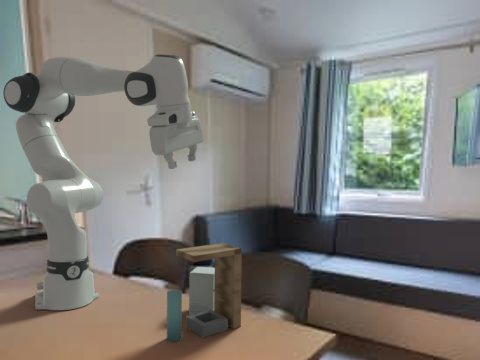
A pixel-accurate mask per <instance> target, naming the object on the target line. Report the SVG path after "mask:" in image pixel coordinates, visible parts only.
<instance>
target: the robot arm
mask: <svg viewBox="0 0 480 360" xmlns="http://www.w3.org/2000/svg"><path fill="white" fill-rule="evenodd" d="M188 90H189V82H188V76H187V71H186V67H185V64H184V61H183V59H182V58H181V57H180V56H178V55H175V54H162V53H161V54H155V55H153V56H152V58H151V59H150V61H149V62H148V63H147V64H146V65H144V66H143V67H141V68H139V69H137V70H134V71H130V70H125V69H119V68H115V67H114V66H113V67H112V66H109V65H105V64H101V63H98V62H96V61H91V60H88V59H85V58H80V57H79V58H78V57H71V56H56V57H51V58H48V59H46V60H44V62H43V63H42V65H41V67H40V71H39V73H38V74H34V73H33V72H31V71H30V72H26V73H24V74H22V75H19V76H15V77H12V78H10V79H9V80H8V81H7V83H5V85H4V88H3V93H2V94H3V98H4V102H5V103H6V106H7V107H8V108H10V109H11V110H14V111H16V112H19V113H23V114H22V115H20V116H19V117H18V118H17V120H16V122H15V128H16V133H17V137H18V139H19V143H20V145H21V148H22V150H23V152H24V154H25V156H26V158H27V160H28V162H29V164H30V167H31V169H32V170H33V172H34V173H35V174H36V175H37V176H39V177H41V178H43V179H45V180H44V181H41V182H38V183H35V184H33V185H32V186H30V187H29V189H28V191H27V194H26V204H27V208H28V210H29V211H30V212H31V213H32V214H33V215H35V216H36V217H37V218H39V219H40V221H41V223H42V224H43V226H44V229H45V232H46V235H47V236H46V237H47V246H48V248H47V249H48V259H47V261H46V273H45V274H44V276H43V278H42V281H39V282H36V287H37V288H36V289H37V290H38V291H37V292H35V294H34V295H35V296H34V298H35V299H34V309H35V310H49V311H67V310H75V309H78V308H83V307H84V306H88V305H89V304H91V303H92V302H93V301H94V300H96V299H97V298H99V297H100V294H99V293H98V292H96V291H95V286H94V285H95V283H94V282H95V281H94V273H93V272H92V271H91V270H90V269H89V267H90V266H89V262H90V260H89V256H88V235H87V232H86V230H85V229H84V228H82V227H80V226H79V225H78V222H77V220H76V215H75V214H79V213H87V212H89V211H91V210H94V209H95V208H98V207H99V206H100V205H101V204H102V201H103V197H104V191H103V188H102V186H101V185H100V183H98V182H97V181H95V180H93V179H92V178H90V177H89V176H87V175H86V174H85V172H83V171H82V170H81V169H80V168H79V167H78V166H77V165H76V164H75V162H74V161H73V160H72V158H70V156H69V154H68V152H67V151H66V149H65V147H64V145H63V143H62V140H61V139H60V137H59V135H58V134H57V131H56V130H55V129H56V128H55V126H54V123H60V122H62V121H63V120H64V118H66V117H68V116H69V115H70V114H71V113H72V112H73V111H74V108H75V106H76V105H75V104H76V96H78V97H90V96H92V97H93V96H100V95H103V94H104V95H105V94H111V93H116V92H117V93H118V92H119V93H120V92H124V94H125V96H126V98H127V100H128V101H129V102H130V103H131V104H132V105H134V106H137V107H138V106H139V107H146V106H154V105H155V106H156V105H157V108H158V110H156V111H155V112H154V114H151V116H149V117H148V118H147V119H146V120H147V125H148V127H150V129H149V132H148V133H149V140H150V141H149V142H150V148H151V151H152V153H153V154H154V155H155V156H163V158H164V160H165V161H166V162H167V165H168V166H167V167H168V169H169V170H174V169H176V168H177V167H178V165H177V164H178V163H177V161H175V160H174V158H173V157H174V154H173V153H174V152H177V151H180V150H183V149H186V148H187V149H188V150H189V151H188V155H187V161H188V162H194V161H196V160H197V158H196V157H197V156H196V153H197V149H198V146H197V145H198V144H201V143H203V142H204V139H205V137H204V136H205V135H204V132H203V131H204V130H203V127H202V123H201V119H199V115H197V114H196V112H195V111H192V103H191V100H190V98H189V94H188V93H189V91H188Z"/></svg>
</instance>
